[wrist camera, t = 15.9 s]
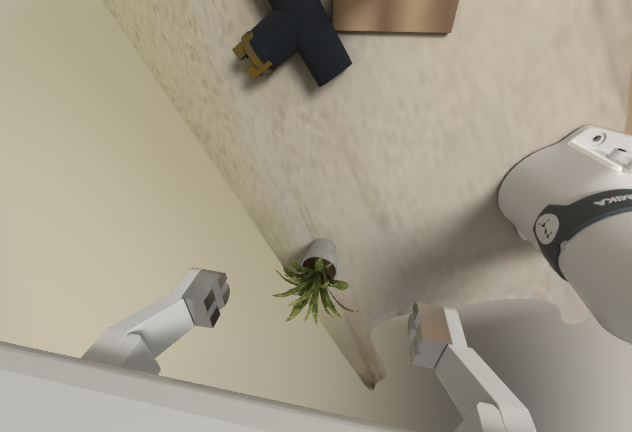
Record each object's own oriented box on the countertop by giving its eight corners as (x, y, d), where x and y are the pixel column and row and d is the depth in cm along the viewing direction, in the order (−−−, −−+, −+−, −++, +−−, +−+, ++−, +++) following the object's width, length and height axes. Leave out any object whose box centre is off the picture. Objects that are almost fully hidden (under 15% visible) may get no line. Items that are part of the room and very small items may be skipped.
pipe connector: (277, 118, 37) (197, 3, 31) (286, 108, 41) (218, 6, 36) (351, 65, 32) (273, -83, 26) (353, 61, 37) (286, -67, 31)
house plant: (360, 214, 50) (354, 283, 37) (368, 269, 57) (366, 342, 44) (286, 220, 53) (257, 284, 40) (303, 270, 61) (283, 339, 48)
